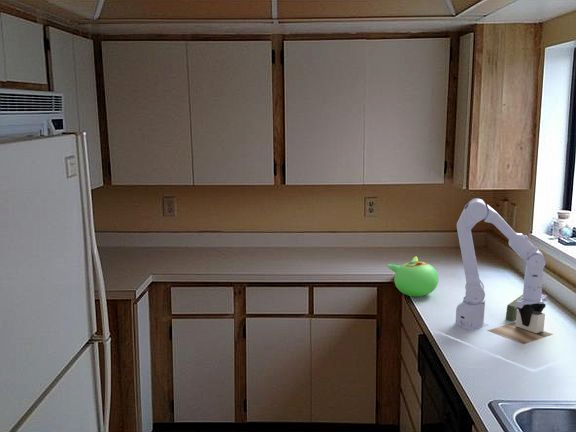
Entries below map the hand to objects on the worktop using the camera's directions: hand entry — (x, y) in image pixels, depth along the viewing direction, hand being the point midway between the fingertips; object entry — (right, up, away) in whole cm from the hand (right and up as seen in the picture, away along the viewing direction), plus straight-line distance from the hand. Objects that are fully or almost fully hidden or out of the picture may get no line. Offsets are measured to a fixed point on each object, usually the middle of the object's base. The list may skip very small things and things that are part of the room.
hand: (529, 324), depth 203 cm
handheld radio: (+4, 0, +18) cm, 19 cm away
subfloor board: (-4, -3, -2) cm, 6 cm away
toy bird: (-31, +5, +39) cm, 50 cm away
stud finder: (0, -1, 0) cm, 1 cm away
